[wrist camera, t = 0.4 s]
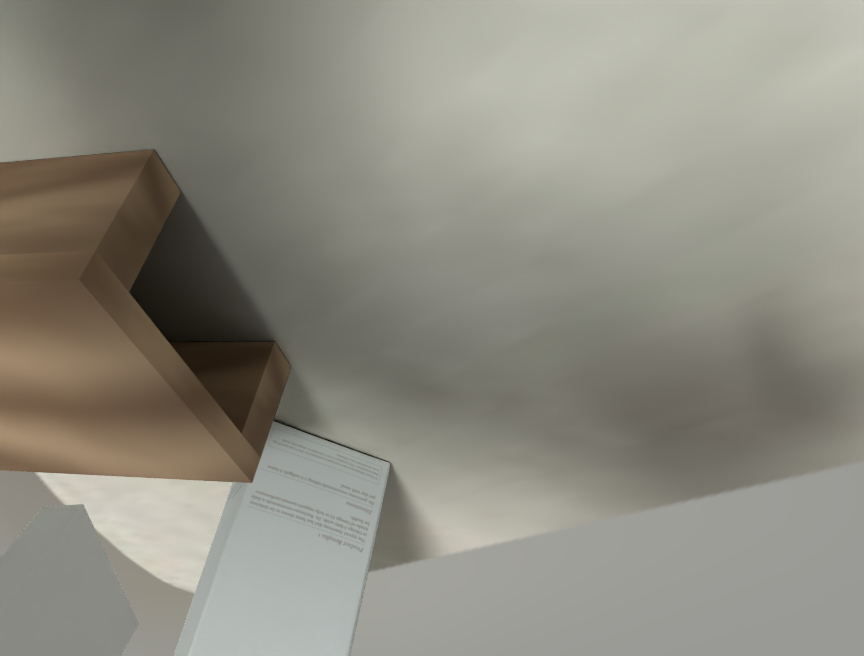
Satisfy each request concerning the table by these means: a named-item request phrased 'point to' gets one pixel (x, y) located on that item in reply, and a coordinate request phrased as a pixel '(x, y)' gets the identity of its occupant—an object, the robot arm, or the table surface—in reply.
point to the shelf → (113, 336)
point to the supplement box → (289, 553)
